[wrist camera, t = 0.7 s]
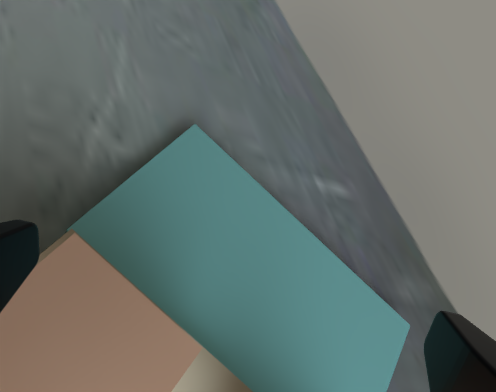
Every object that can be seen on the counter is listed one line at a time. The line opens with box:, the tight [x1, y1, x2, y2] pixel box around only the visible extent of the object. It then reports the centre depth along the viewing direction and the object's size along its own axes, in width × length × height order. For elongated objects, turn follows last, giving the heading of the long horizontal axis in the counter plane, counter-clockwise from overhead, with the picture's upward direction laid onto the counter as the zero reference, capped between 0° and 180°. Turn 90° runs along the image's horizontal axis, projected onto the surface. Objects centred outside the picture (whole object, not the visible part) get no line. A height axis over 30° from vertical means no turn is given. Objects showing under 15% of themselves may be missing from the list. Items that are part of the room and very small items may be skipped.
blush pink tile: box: [0, 233, 202, 392], centre depth 14 cm, size 6×6×2 cm
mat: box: [66, 124, 410, 392], centre depth 23 cm, size 10×19×1 cm, turn 53°
